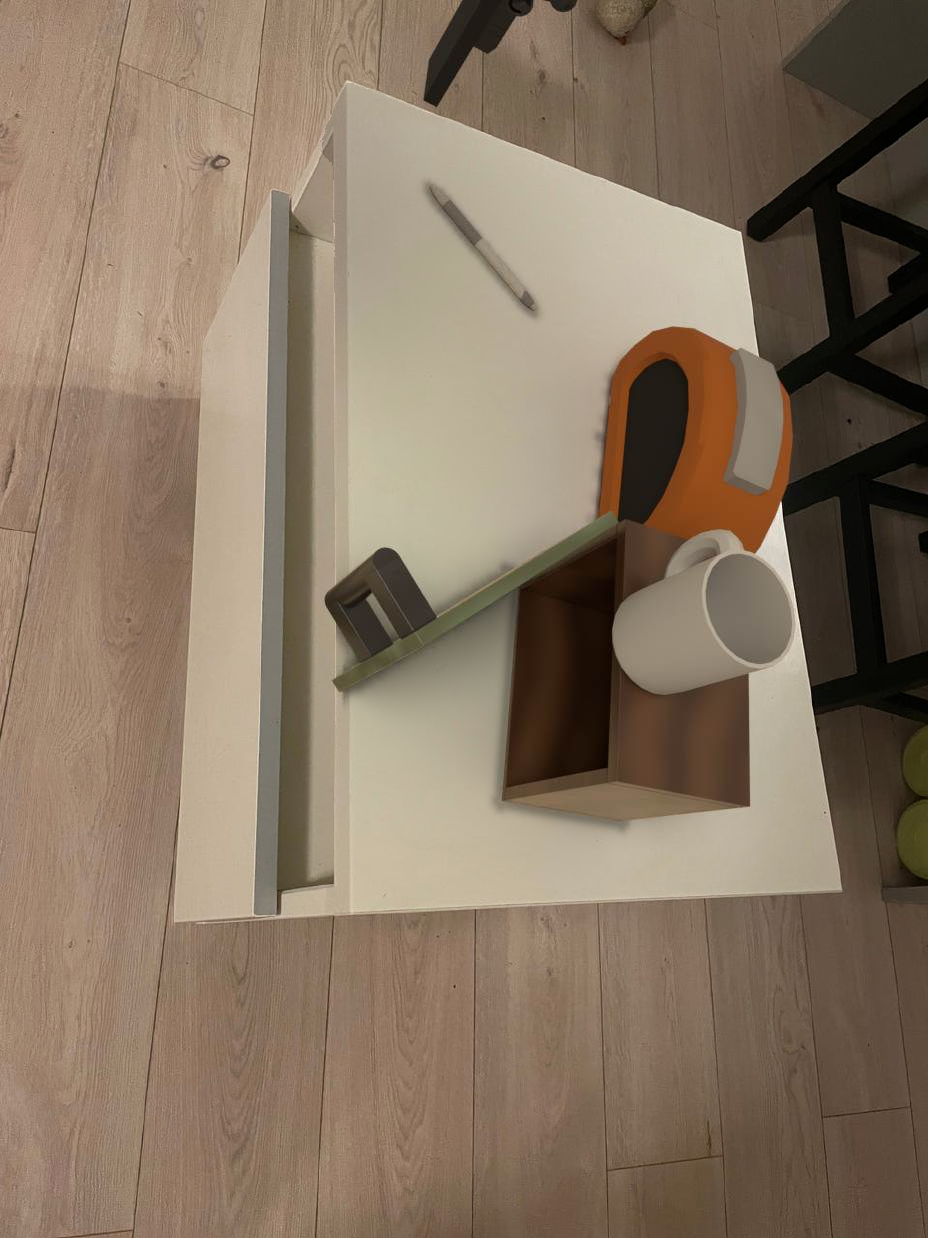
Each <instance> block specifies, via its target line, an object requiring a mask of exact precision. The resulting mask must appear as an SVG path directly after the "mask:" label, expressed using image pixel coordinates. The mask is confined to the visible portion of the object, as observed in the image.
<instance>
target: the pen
mask: <svg viewBox="0 0 928 1238" xmlns="http://www.w3.org/2000/svg"><path fill="white" fill-rule="evenodd" d="M430 190H431V192H432V194H433V196H434V198H435V199H436V201H437V202H438V204H439V205H440V207H441V208H442V209H443V211H444V212H445V213H446V214H447V215H448V217H449V218H450V219H451V220H452V221H453V222H454V224H455V225H456V226H457V227H458V229H459V230H460V231H461V232H462V233H463V234H464V235H465V237H466V238H467V239H468V240H469V241H470V243H471V244H472V245H473V246H474V248H476V249H477V250H478V252H479V253H480V254H481V255H482V256H483V257H484V259H485V260H486V261H487V262H488V263H489V264H490V266H491V267H492V268H493V269H494V270H495V271H496V273H497V274H498V275H499V276H500V277H501V279H502V280H503V281H504V282H505V284H506V285H507V286H508V288H510V289H511V291H512V292H513V293H514V294H515V295H516V296H517V298H518V299H519V300H520V301H521V302H522V304H524V305H525V307H527V308H530V309H531V310H532V311H534V310H536V308H537V306H536V305H535V301H534V299H533V297H532V296H531V295H530V293H529V292H528V291H527V290H526V288H525V287H524V286H523V285H522V284H521V282H520V281H519V279H517V278H516V276H514V274H513V273H512V272H511V271H510V269H509V268H508V267H507V265H506V264H505V263H504V262H503V261H502V259H500V258H499V256H498V255H497V253H495V252H494V251H493V249H492V247H490V246H489V245H488V243H487V242H486V240H485V238H483V236H482V235H481V234H480V233H479V232H478V231H477V229H476V228H475V227H474V226H473V224H471V222H470V221H469V220H468V219H467V218H466V216H465V215H464V213H462V211H461V210H460V209H459V208H458V207H457V206H456V205H455V203H454V202H453V201H452V199H450V198H449V197H448V196H447V194H445V193H444V192H443V191H442V190H441V189H440V188H438V187H437V186H436V185H433V184H430Z"/></svg>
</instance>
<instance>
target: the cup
mask: <svg viewBox="0 0 928 1238" xmlns="http://www.w3.org/2000/svg"><path fill="white" fill-rule="evenodd" d="M714 554H717V556H714V557H712V558H710V559H708V560H705V561H703V560H704V559H706V558H708V557H710V556H712V555H714ZM701 561H703V562H701ZM700 562H701V563H700ZM795 632H796V615H795V608H794V605H793V600H792V597H791V594H790V592H789V590H788V587H787V586H786V584H785V582H784V580H783V578H781V576H780V575H779V573H778V572H777V571H776V569H775V568H774V567H773V566H772V565H771V564H770V563H769V562H767V561H766V560H765V559H764V558H763V557H761V556H760V555H758V554H756V553H755V554H754V553H752V552H749V551H744V548H743V545H742V543H741V541H740V540H739V539H738V538H737V537H736V536H735V535H734V534H733V533H732V532H731V531H728V530H721V529H719V530H711V531H707V532H702V533H700V534H698V535H696V536H694V537H692V538H691V539H689V540H688V541H687V542H685V543H684V544H683V545H681V546H680V548H679V549H678V550H677V551H676V552H675V553H674V554H673V556H672V558H671V559H670V561H669V563H668V565H667V567H666V571H665V574H664V579H663V580H661V581H659V582H656V583H654V584H652V585H650V586H648V587H645V588H643V589H641V590H639V591H637V592H635V593H633V594H632V595H630V596H628V597H627V598H626V599H625V600H624V601H623V602H622V603H621V605H620V607H619V609H618V611H617V613H616V615H615V619H614V623H613V628H612V642H613V647H614V651H615V655H616V657H617V659H618V661H619V664H620V666H621V668H622V669H623V670H624V672H625V673H626V674H627V676H628V677H629V678H630V679H631V680H632V681H633V682H635V683H636V684H637V685H638V686H640V687H641V688H643V689H645V690H647V691H649V692H651V693H653V694H660V695H668V694H674V693H679V692H684V691H687V690H691V689H695V688H698V687H702V686H705V685H709V684H712V683H716V682H719V681H723V680H727V679H730V678H734V677H737V676H741V675H744V674H748V673H749V674H751V673H755V672H758V671H763V670H766V669H769V668H773V667H774V666H777V664H779V663H780V662H782V661H783V660H784V659H785V657H786V656H787V655H788V653H790V650H791V647H792V645H793V643H794V640H795Z"/></svg>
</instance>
